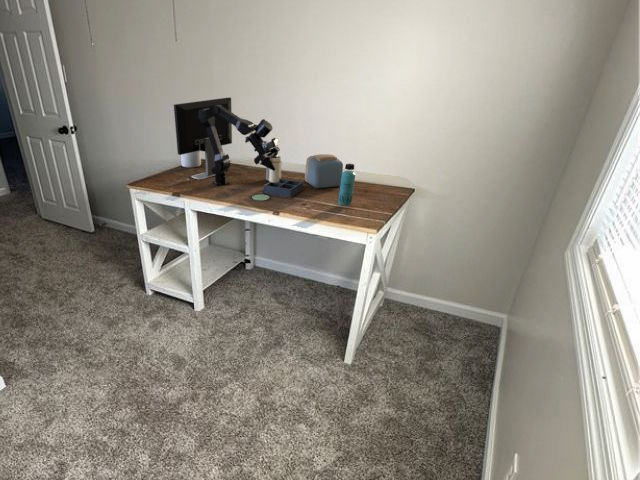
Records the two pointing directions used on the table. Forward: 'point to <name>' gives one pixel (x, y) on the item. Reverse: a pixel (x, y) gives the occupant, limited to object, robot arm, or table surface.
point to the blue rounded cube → (323, 171)
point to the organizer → (283, 187)
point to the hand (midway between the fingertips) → (277, 168)
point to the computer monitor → (200, 131)
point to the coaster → (260, 197)
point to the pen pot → (275, 175)
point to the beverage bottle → (347, 186)
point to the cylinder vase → (191, 159)
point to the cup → (268, 172)
